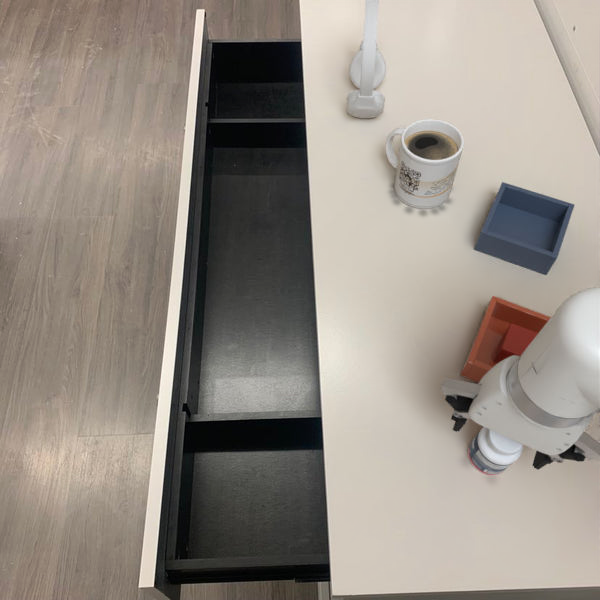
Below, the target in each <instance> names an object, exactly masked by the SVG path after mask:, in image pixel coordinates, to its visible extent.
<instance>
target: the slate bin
mask: <svg viewBox="0 0 600 600" xmlns="http://www.w3.org/2000/svg"><path fill="white" fill-rule="evenodd" d="M574 209H575V204H574V203H571V202H568V201H564V200H562V199H559V198H555V197H552V196H549V195H546V194H543V193H539V192H536V191H532V190H529V189H527V188H523V187H521V186H520V187H519V186H517V185H514V184H511V183H507V182H504V181H502V182H501V184H500V187H499V189H498V191H497V193H496V196H495V198H494V200H493V203H492V205H491V207H490V209H489V212H488V214H487V216H486V219H485V222H484V223H483V226H482V228H481V231H480V233H479V235H478V238H477V241H476V243H475V246H474V250H473V251H477V252H479V253H482V254H485V255H488V256H491V257H494V258H496V259H500V260H502V261H505V262H508V263H511V264H513V265H516V266H519V267H522V268H525V269H528V270H531V271H534V272H536V273H539V274H541V275H545V276H547V275H548V273H549V272H550V270H551V269H552V267H553V266H554V264H555V262H556V260H558V257H559V255H560V254H559V253H560V251H561V247H562V244H563V241H564V240H565V239H564V238H565V235H566V233H567V229H568V226H569V224H570V220H571V217H572V214H573V211H574Z"/></svg>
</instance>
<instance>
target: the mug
mask: <svg viewBox="0 0 600 600" xmlns="http://www.w3.org/2000/svg"><path fill="white" fill-rule="evenodd" d="M395 136H401V138H400V145H399V150H398V156H397V155H396V153H395V150H394V145H393V142H394V138H395ZM384 144H385V145H384V147H385V150H384V151H385V155H386V157H387V160H388V161H389V164H390V165H391V166H392V167H393V169H395V177H394V184H393V188H394V192H395V195H396V196H397V198H398V199H399V200H400V201H401V202H402V203H403V204H406V205H407V206H409V207H412V208H416V209H422V210H423V209H424V210H427V209H433V208H436V207H440V206H441V205H442V204H444V203H445V202H446V201H447V200H448V199H449V197H450V195H451V192H452V188H453V185H454V182H455V177H456V174H457V172H458V171H457V170H458V167H459V162H460V160H461V157H462V153H463V149H464V147H465V146H464V145H465V140H464V136H463V134H462V132H461V131H460V130H459V128H457V127H456V126H455V125H454V124H452V123H450V122H447V121H444V120H441V119H438V118H437V119H436V118H424V119H419V120H417V121H414V122H412V123H410V124H409V125H408V126H407V127H405V126H398V127H396V128H394V130H392V131H391V132H390V133H388V135H387V136H386V139H385V143H384Z"/></svg>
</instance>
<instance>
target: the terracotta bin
mask: <svg viewBox="0 0 600 600" xmlns="http://www.w3.org/2000/svg"><path fill="white" fill-rule="evenodd" d="M551 317H552V316H548V315H546V314H544V313H541V312H538V311H535V310H533V309H530V308H527V307H525V306H523V305H519V304H517V303H515V302H511V301H508V300H506V299H503V298H501V297H498V296H495V295H492V296H491V298H490V300H489V301H488V304H487V306H486V308H485V310H484V312H483V315H482V318H481V320H480V323H479V325H478V328H477V330H476V332H475V335H474V338H473V340H472V343H471V346H470V348H469V350H468V353H467V356H466V359H465V361H464V363H463V367H462V369H461V371H460V374H459V375H460V376H461V377H463V378H466V379H469V380H470V381H473V382H474V383H475V382H476V383H477V384H479V382H480V380H481V379H482V377H483V376H484V375H485V374H486V373H487V372H488V371H489V370H490V369H491V368H493V367H494V366H495V365H496V364H497V363H495V362H493V361H494V359H495V356H496V353H497V350H498V347H499V345H500V342H501V339H502V337H503V335H504V334H505V332H506V330H507V329H508V327H509V325H510V324H511V323H513V324H515V325H518V326H520V327H523V328H526V329H528V330H531V331H533V332H536V333H539V332H540V331H541V329H542V328H543V327H544V326H545V324H546V323H547V322H548V321H549V319H550V318H551Z"/></svg>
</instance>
